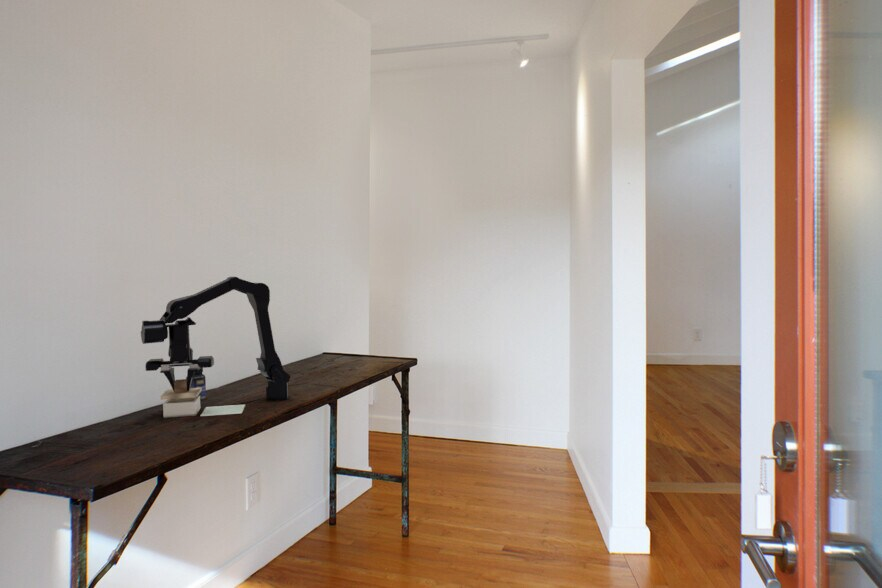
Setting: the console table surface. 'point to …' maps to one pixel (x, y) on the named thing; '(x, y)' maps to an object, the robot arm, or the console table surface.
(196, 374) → the pill bottle
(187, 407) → the beige boxy piece
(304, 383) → the console table surface
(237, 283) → the robot arm
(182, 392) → the lid
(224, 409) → the mat
